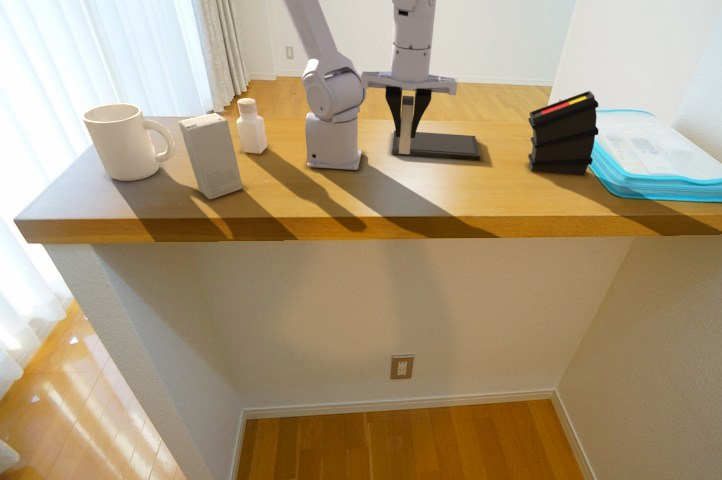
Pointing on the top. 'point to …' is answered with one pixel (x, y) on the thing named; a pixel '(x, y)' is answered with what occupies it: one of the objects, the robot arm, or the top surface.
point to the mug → (126, 141)
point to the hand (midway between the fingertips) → (405, 135)
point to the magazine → (564, 135)
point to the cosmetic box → (211, 154)
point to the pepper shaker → (251, 127)
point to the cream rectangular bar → (406, 124)
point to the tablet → (440, 146)
